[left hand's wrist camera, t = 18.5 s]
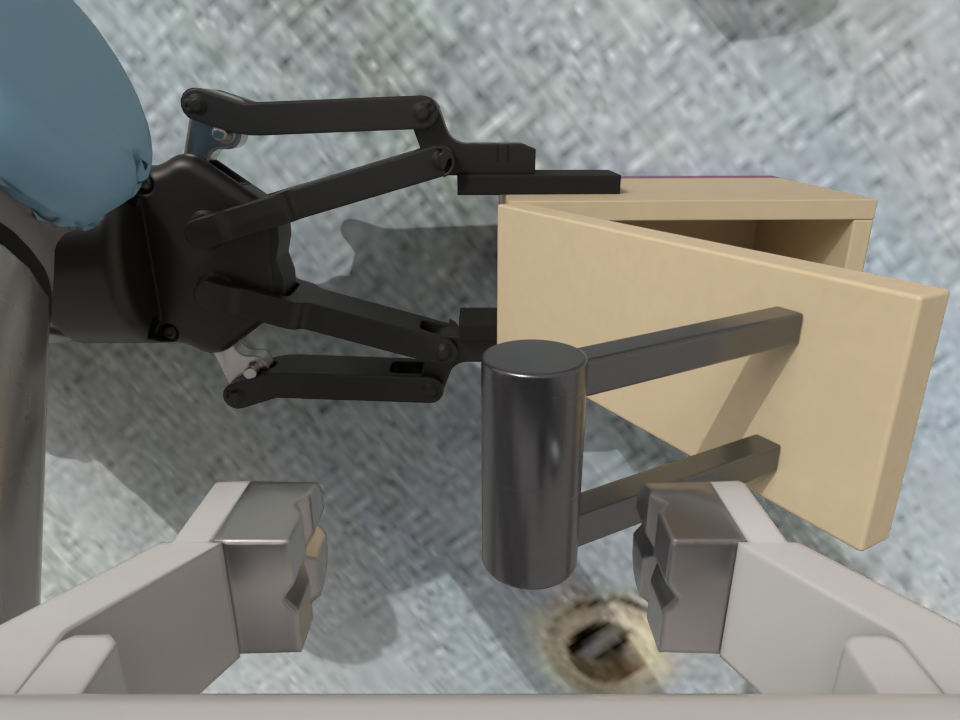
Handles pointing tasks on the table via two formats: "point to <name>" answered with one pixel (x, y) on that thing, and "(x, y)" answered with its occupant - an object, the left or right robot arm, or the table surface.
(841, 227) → the chest
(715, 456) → the lid
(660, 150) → the table surface
